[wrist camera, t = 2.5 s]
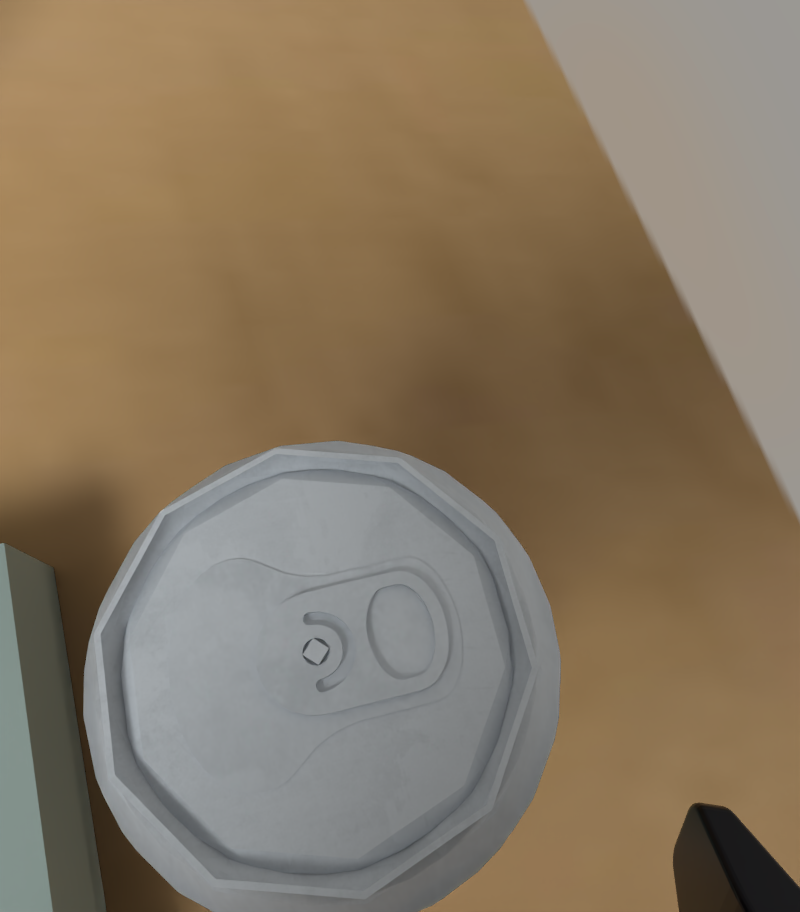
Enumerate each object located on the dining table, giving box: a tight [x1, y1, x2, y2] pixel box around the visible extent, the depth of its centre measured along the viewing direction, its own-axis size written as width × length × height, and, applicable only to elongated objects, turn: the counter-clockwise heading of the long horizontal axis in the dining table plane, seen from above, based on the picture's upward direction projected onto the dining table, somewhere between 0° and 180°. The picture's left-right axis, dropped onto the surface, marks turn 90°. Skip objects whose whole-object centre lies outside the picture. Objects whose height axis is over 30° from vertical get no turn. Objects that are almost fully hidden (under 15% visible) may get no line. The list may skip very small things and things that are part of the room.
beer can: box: [83, 441, 561, 912], centre depth 12 cm, size 5×5×12 cm
